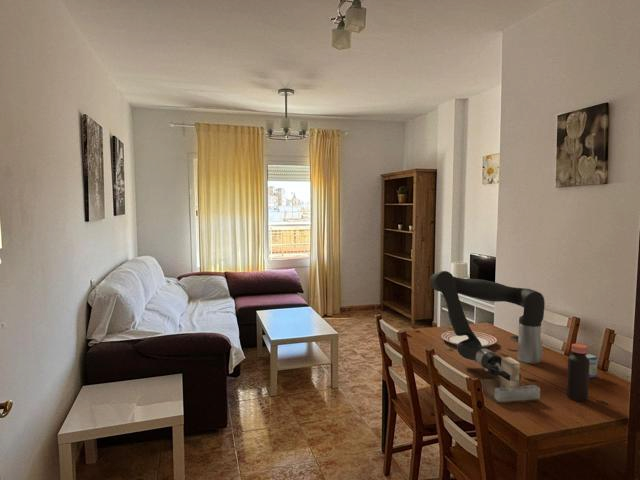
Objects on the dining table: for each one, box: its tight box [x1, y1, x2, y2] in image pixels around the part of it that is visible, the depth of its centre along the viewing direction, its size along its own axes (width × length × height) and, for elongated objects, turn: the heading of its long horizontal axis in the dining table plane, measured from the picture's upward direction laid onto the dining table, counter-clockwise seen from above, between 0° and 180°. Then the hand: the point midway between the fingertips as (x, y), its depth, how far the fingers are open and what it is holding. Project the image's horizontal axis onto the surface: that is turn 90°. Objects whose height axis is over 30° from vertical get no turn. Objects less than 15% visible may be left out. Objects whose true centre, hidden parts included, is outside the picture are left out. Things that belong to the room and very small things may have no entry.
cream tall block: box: [500, 356, 521, 387], centre depth 154 cm, size 4×6×12 cm, turn 8°
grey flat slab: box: [480, 377, 539, 405], centre depth 158 cm, size 16×18×1 cm
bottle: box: [565, 343, 590, 403], centre depth 152 cm, size 7×7×20 cm
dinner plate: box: [441, 330, 498, 348], centre depth 217 cm, size 27×27×3 cm
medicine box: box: [586, 353, 598, 379], centre depth 173 cm, size 8×4×9 cm, turn 106°
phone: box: [509, 335, 518, 343], centre depth 218 cm, size 8×1×15 cm
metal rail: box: [494, 384, 541, 402], centre depth 149 cm, size 16×3×4 cm, turn 98°
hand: (514, 377), depth 151 cm, fingers closed on cream tall block, 3 cm apart
